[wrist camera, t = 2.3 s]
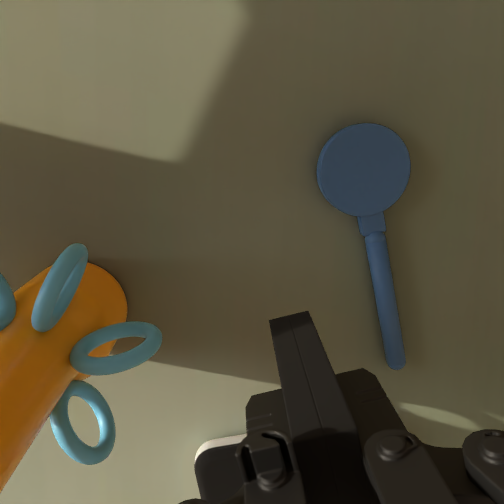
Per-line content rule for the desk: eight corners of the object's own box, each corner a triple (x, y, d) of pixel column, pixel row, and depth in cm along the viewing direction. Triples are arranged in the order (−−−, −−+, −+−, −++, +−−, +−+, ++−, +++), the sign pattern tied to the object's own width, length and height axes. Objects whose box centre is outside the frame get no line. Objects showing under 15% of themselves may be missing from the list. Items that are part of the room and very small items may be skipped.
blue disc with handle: (308, 136, 25) (312, 136, 24) (397, 113, 25) (405, 112, 23) (356, 372, 29) (361, 382, 28) (432, 354, 29) (440, 363, 28)
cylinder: (26, 178, 25) (-264, 249, 10) (196, 251, 26) (155, 402, 12) (-34, 355, 27) (-328, 608, 13) (123, 411, 29) (18, 691, 15)
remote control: (191, 438, 30) (189, 459, 28) (374, 408, 30) (384, 427, 28) (208, 509, 32) (206, 533, 30) (380, 480, 32) (390, 503, 30)
